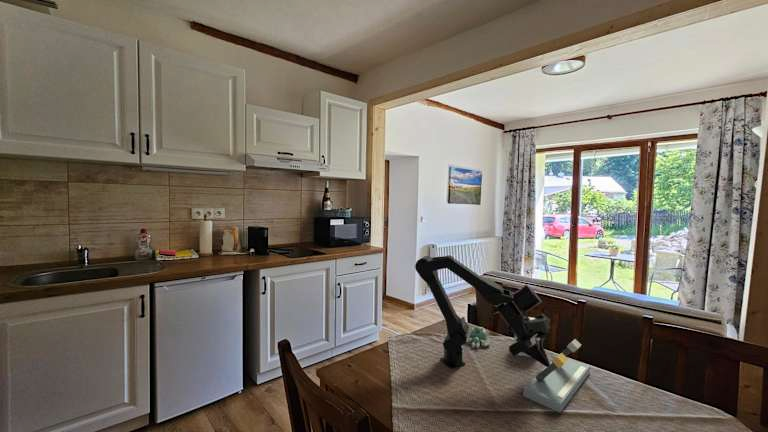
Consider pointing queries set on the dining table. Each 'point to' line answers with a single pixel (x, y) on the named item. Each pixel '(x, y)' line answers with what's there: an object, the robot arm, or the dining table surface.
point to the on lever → (571, 348)
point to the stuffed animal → (478, 337)
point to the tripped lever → (552, 367)
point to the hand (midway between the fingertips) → (548, 365)
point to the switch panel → (557, 385)
